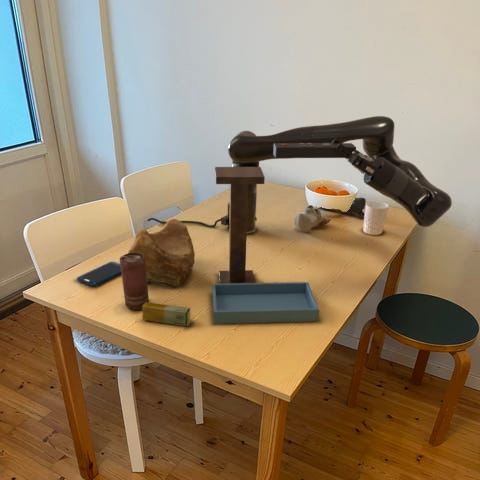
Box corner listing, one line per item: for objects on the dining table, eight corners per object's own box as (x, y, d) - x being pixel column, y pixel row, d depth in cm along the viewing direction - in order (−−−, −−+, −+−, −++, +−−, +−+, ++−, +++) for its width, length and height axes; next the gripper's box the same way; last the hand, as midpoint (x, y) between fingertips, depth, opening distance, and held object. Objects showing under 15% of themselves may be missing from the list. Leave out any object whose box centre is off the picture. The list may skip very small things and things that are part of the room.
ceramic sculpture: (288, 205, 169) (309, 197, 179) (285, 229, 173) (306, 220, 184) (314, 213, 163) (335, 204, 174) (311, 237, 168) (331, 227, 178)
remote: (275, 158, 118) (276, 146, 117) (273, 153, 122) (273, 142, 120) (354, 157, 120) (356, 146, 118) (350, 153, 123) (351, 142, 122)
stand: (216, 291, 134) (216, 177, 117) (215, 275, 143) (214, 166, 125) (259, 290, 135) (264, 177, 118) (255, 274, 144) (260, 166, 126)
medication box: (191, 322, 121) (191, 307, 119) (187, 327, 119) (188, 312, 117) (145, 315, 123) (145, 301, 121) (141, 320, 120) (141, 305, 119)
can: (126, 299, 130) (120, 252, 122) (149, 298, 130) (145, 251, 123) (123, 311, 125) (117, 262, 117) (148, 310, 125) (143, 262, 117)
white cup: (384, 229, 176) (389, 202, 170) (382, 237, 170) (387, 209, 164) (362, 226, 178) (367, 199, 172) (360, 233, 172) (364, 206, 166)
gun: (364, 219, 182) (359, 193, 179) (318, 224, 195) (313, 200, 191) (368, 216, 185) (364, 190, 182) (323, 221, 198) (318, 197, 194)
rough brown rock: (165, 304, 129) (167, 254, 121) (119, 283, 136) (117, 234, 127) (213, 273, 147) (217, 228, 139) (169, 256, 153) (171, 211, 145)
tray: (214, 323, 121) (213, 312, 119) (212, 294, 133) (212, 283, 131) (318, 321, 123) (319, 309, 121) (306, 292, 135) (308, 281, 133)
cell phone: (76, 280, 138) (75, 277, 137) (112, 263, 148) (112, 260, 147) (93, 287, 134) (93, 285, 134) (129, 269, 144) (129, 267, 144)
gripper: (386, 158, 130) (336, 125, 124) (405, 174, 118) (351, 137, 112) (368, 182, 133) (319, 151, 127) (386, 199, 121) (332, 165, 115)
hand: (335, 144), depth 120 cm, fingers closed on remote, 4 cm apart
